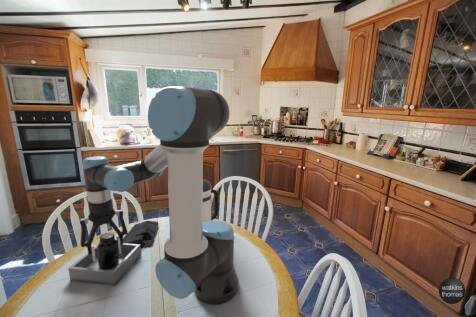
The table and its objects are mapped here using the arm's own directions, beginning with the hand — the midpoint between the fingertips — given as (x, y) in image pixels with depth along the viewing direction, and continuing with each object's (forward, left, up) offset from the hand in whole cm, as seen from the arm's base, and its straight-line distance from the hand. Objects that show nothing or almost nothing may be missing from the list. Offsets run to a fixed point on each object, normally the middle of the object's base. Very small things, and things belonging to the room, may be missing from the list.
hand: (107, 256), depth 89 cm
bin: (0, 0, -5) cm, 5 cm away
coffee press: (-28, -28, -5) cm, 40 cm away
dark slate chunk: (-1, -23, -5) cm, 23 cm away
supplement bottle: (0, 0, -4) cm, 4 cm away
